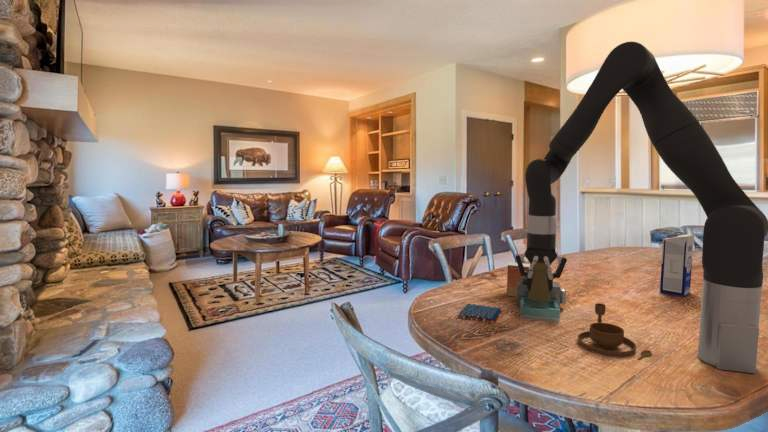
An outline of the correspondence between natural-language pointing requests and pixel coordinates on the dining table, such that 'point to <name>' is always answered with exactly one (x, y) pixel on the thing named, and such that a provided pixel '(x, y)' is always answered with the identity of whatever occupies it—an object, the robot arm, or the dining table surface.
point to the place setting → (608, 337)
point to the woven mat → (480, 313)
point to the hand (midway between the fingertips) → (539, 290)
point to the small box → (514, 277)
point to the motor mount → (540, 303)
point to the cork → (539, 283)
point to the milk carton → (676, 264)
